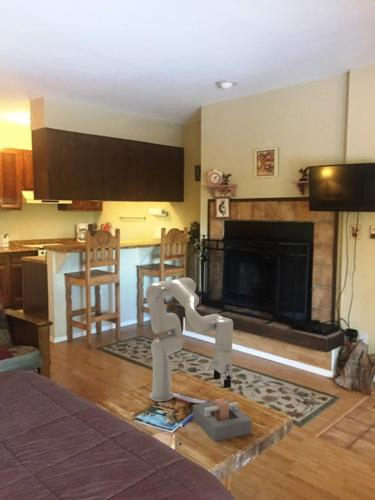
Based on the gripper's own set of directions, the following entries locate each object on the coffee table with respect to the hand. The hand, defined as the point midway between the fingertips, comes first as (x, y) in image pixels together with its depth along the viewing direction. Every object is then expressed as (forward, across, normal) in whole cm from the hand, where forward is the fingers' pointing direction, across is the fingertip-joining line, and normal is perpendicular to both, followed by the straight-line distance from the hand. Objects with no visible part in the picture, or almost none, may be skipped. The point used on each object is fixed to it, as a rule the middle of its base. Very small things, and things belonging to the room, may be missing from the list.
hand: (221, 383), depth 190 cm
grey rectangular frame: (+20, 0, 0) cm, 20 cm away
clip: (+18, +1, 0) cm, 18 cm away
